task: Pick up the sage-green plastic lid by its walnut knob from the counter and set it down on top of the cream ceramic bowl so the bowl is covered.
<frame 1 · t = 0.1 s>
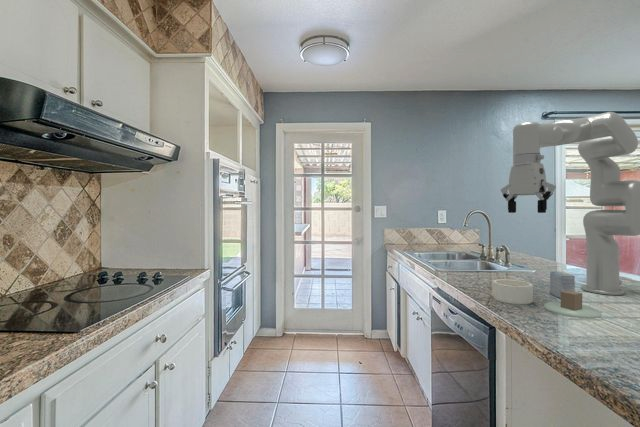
hand: (526, 212, 105), 31 cm above the table, fingers open, 9 cm apart
bowl: (512, 299, 113), on the table
lid: (571, 311, 100), on the table
medicine box: (562, 297, 116), on the table
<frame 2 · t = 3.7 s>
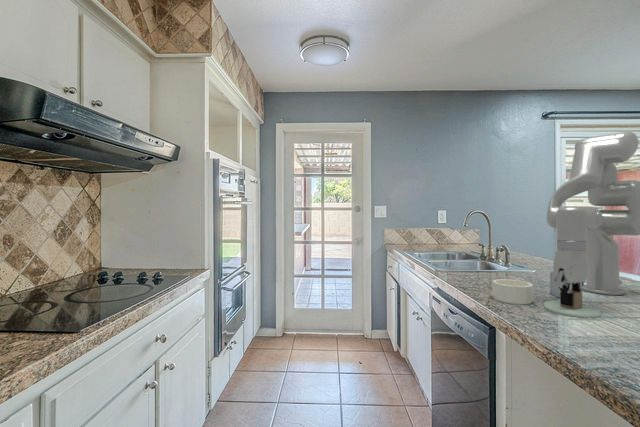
hand: (571, 303, 100), 2 cm above the table, fingers closed on lid, 4 cm apart
lid: (571, 310, 100), on the table, touching gripper
everything else where it was.
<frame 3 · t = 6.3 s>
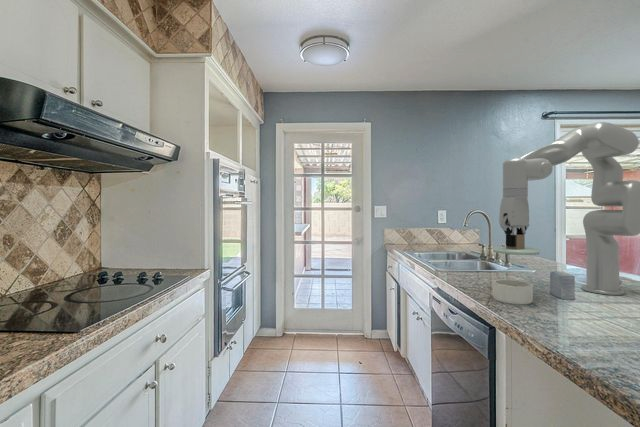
hand: (515, 245, 112), 19 cm above the table, fingers closed on lid, 4 cm apart
lid: (515, 252, 112), point 17 cm above the table, touching gripper
everything else where it was.
when the fingers open (10 cm above the table, at t = 8.9 s): lid drops 1 cm, resting on bowl.
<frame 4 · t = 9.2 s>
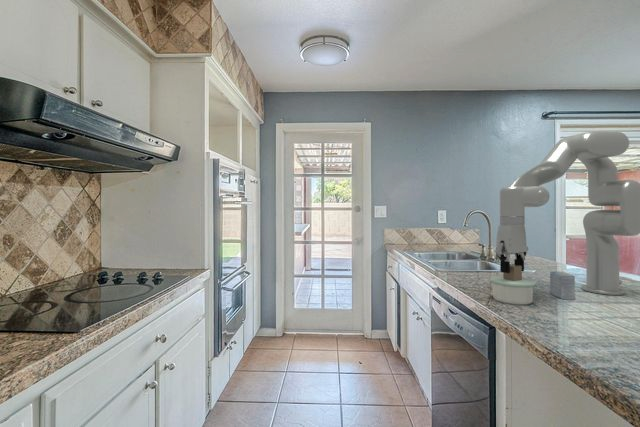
hand: (512, 271, 112), 10 cm above the table, fingers open, 6 cm apart
lid: (512, 282, 113), point 6 cm above the table, touching bowl
everything else where it was.
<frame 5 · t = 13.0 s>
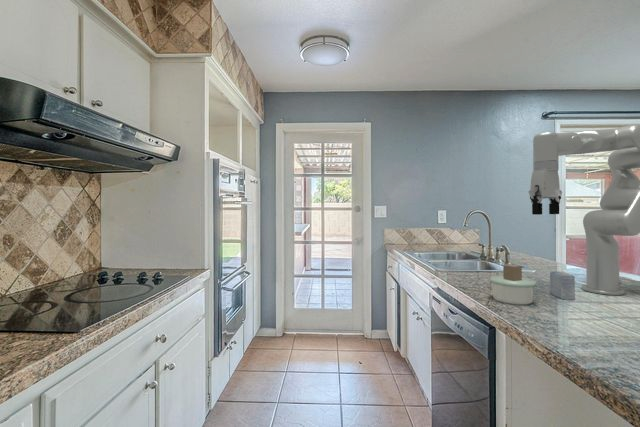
hand: (545, 214, 115), 30 cm above the table, fingers open, 9 cm apart
nothing on the table moved.
at the end: lid 0.1 cm off-centre on the bowl, point 6.0 cm above the bowl's base; lid tilted 0°; the gripper is holding nothing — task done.
